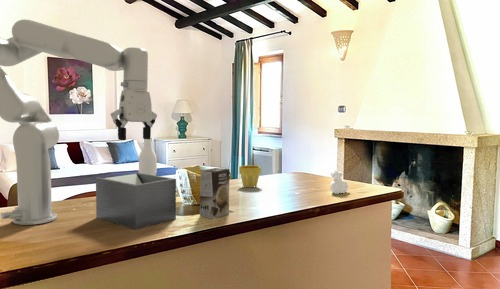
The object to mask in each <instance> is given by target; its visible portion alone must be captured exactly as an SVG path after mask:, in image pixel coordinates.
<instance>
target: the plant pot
mask: <svg viewBox="0 0 500 289" xmlns="http://www.w3.org/2000/svg"><path fill="white" fill-rule="evenodd" d="M238 168H239V169H238V170H239V171H238V172H239V175H240V178H241V181H242V187H243V186H244V187H243V188H246V187H254V186H258V181H259V177H260V175H261V171H262V170H261V166H260V165H252V164H251V165H249V164H247V165H246V164H245V165H239V167H238ZM254 188H255V187H254Z"/></svg>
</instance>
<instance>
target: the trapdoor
mask: <svg viewBox="0 0 500 289" xmlns="http://www.w3.org/2000/svg"><path fill="white" fill-rule="evenodd" d="M105 179H110V180H115V181H120V182H125V183H130V184H135V185H138V184H142V183H141V181H140V179H139V178H138V176H137V174H134V173H132V174H125V175H118V176H117V175H116V176H111V177H105Z"/></svg>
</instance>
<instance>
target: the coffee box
mask: <svg viewBox="0 0 500 289" xmlns="http://www.w3.org/2000/svg"><path fill="white" fill-rule="evenodd" d="M230 171H231V170H230V169H229V168H223V167H222V168H220V167H219V168H218V167H214V168H209V169H208V168H207V169H201V170H200V181H199V182H200V187H199V189H200V191H199V192H200V193H199V195H200V196H199V217H202V218H207V219H211V220H215V219H218V218H221V217H224V216H227V215H229V214H230Z"/></svg>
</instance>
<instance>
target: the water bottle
mask: <svg viewBox="0 0 500 289" xmlns="http://www.w3.org/2000/svg"><path fill="white" fill-rule="evenodd" d="M152 142H153V140H152V137H150V139H143V143H142V144H143V148H142V149H141V151H140V152H139V155H138V173H144V174H150V175H156V176H157V172H158V170H157V169H158V166H157V165H158V164H157V162H158V161H157V160H158V157H157V156H158V155H156V152H155V150H154V148H153V143H152Z"/></svg>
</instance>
